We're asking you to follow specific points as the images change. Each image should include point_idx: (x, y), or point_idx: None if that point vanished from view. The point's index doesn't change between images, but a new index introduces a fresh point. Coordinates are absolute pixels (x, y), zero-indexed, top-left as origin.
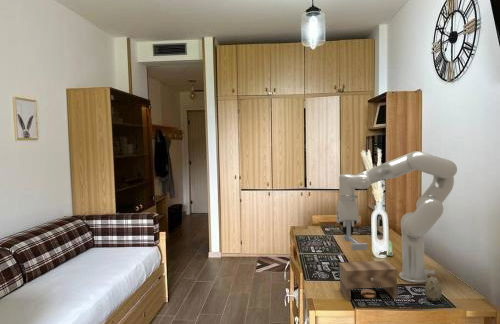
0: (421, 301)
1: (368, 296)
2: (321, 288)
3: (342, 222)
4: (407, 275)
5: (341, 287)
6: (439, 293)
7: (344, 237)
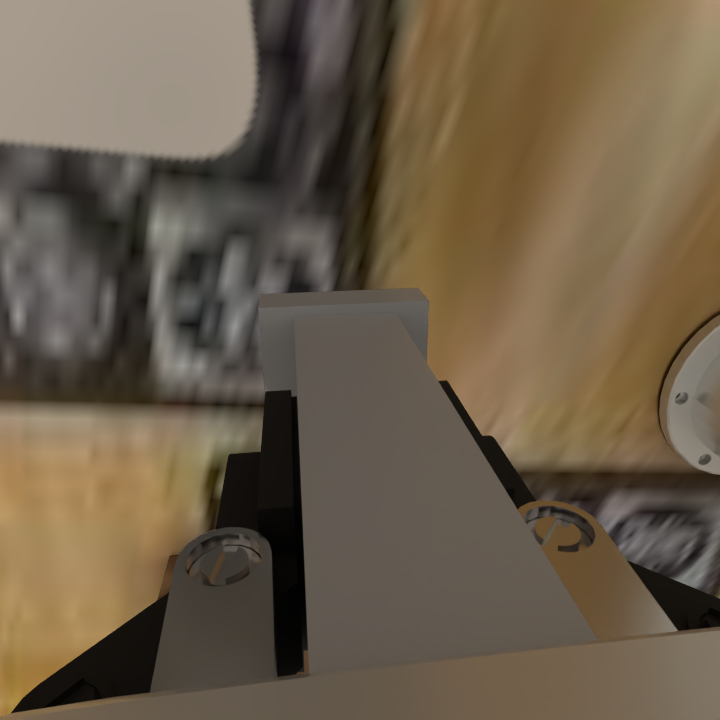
0: None
1: None
2: (34, 534)
3: (192, 684)
4: (705, 439)
5: None
6: None
7: (288, 343)
